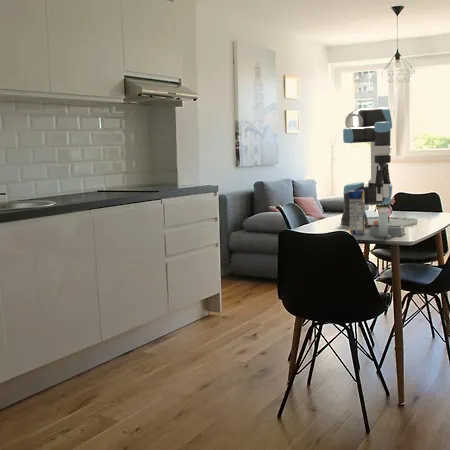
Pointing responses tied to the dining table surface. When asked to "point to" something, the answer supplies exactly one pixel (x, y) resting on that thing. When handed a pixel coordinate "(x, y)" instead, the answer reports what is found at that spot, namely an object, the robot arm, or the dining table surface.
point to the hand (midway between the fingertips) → (382, 199)
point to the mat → (382, 237)
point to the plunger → (376, 223)
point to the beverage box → (357, 212)
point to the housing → (389, 230)
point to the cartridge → (383, 221)
